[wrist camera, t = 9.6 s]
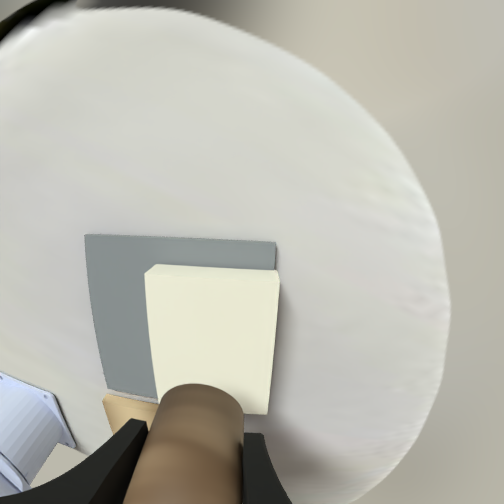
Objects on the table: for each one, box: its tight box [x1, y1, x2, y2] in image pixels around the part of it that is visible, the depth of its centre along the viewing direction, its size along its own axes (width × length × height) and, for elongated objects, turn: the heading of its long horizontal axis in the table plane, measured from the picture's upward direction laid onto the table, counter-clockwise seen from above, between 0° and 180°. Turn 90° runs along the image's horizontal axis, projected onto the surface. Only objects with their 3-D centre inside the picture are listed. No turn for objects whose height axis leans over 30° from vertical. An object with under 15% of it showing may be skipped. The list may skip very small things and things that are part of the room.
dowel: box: [123, 383, 244, 504], centre depth 8 cm, size 4×4×7 cm
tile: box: [144, 264, 280, 414], centre depth 17 cm, size 2×9×7 cm
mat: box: [84, 234, 276, 398], centre depth 18 cm, size 12×12×1 cm
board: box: [102, 394, 159, 435], centre depth 20 cm, size 9×7×1 cm
